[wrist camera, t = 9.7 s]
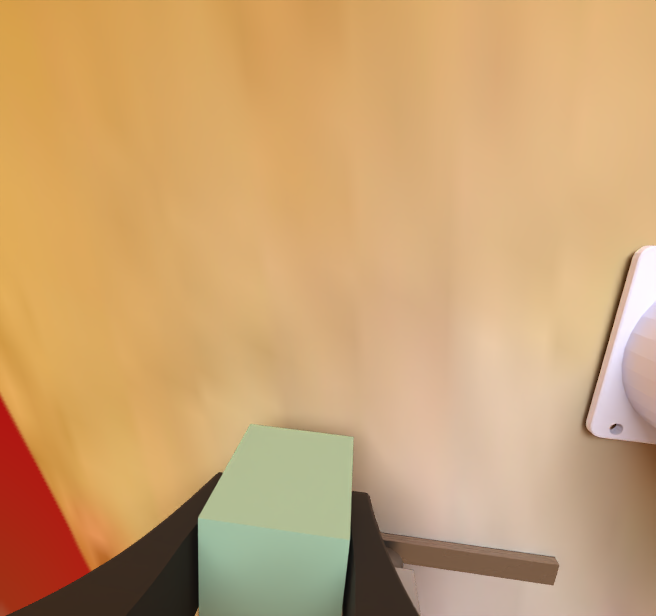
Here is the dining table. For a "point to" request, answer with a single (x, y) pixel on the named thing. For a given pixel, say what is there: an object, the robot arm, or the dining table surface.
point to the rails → (473, 559)
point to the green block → (278, 526)
